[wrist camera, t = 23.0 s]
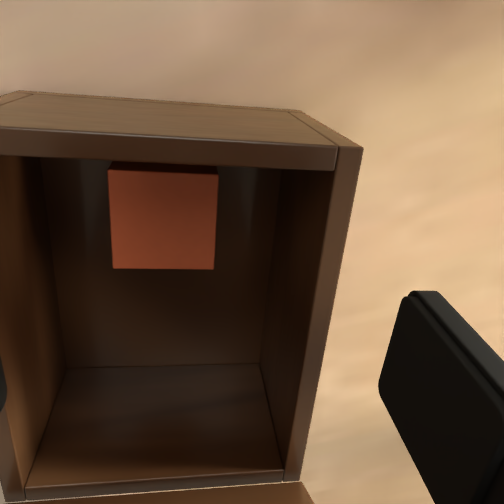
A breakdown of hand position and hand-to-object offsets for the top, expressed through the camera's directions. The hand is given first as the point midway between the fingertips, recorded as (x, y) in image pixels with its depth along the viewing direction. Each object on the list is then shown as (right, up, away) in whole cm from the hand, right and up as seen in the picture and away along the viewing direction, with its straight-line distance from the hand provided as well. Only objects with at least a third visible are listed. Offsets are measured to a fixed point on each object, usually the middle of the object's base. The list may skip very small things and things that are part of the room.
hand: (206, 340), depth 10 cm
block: (-3, +5, +13) cm, 14 cm away
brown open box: (-4, +2, +15) cm, 16 cm away
